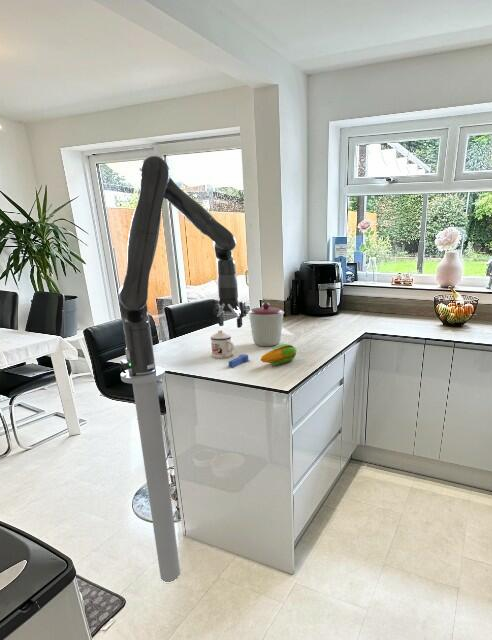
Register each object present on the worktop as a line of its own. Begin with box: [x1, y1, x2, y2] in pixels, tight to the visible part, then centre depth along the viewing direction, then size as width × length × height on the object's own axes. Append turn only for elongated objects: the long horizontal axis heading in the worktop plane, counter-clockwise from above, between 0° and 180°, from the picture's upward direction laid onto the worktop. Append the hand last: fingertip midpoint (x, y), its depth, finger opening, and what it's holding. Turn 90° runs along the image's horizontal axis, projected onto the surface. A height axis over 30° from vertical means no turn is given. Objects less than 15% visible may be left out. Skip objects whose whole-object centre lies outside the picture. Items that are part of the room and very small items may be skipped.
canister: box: [247, 301, 285, 347], centre depth 199 cm, size 18×18×21 cm
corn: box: [260, 343, 298, 366], centre depth 169 cm, size 7×8×20 cm
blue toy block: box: [228, 354, 249, 369], centre depth 169 cm, size 12×4×2 cm, turn 157°
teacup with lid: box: [210, 329, 235, 359], centre depth 178 cm, size 12×9×12 cm
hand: (230, 326), depth 162 cm, fingers open, 8 cm apart
